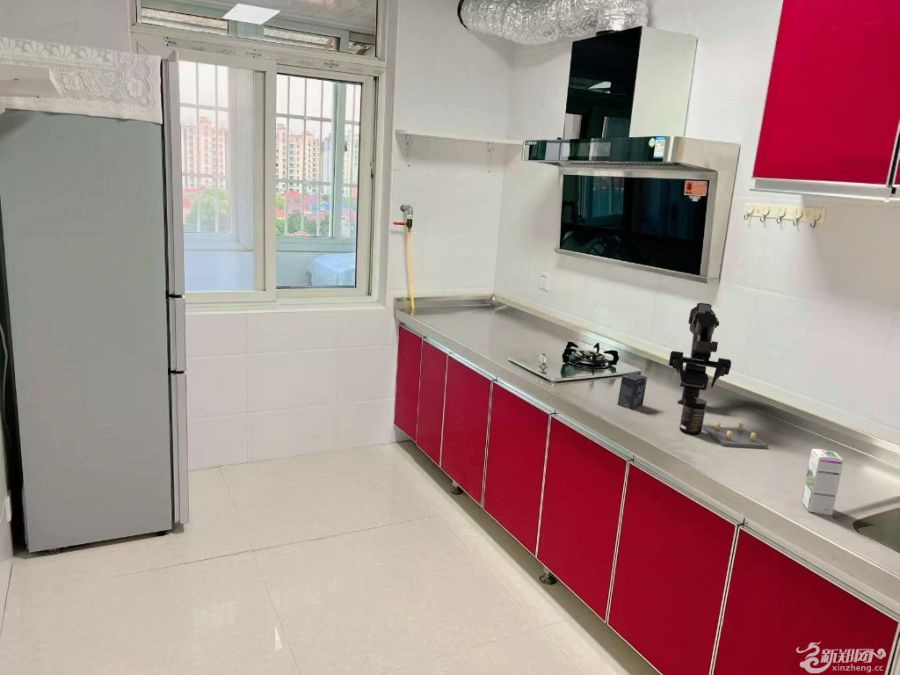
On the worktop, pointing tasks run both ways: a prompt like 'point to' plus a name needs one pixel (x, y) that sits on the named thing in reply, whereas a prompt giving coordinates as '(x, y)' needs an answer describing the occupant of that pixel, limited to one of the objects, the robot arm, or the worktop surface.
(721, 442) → the plate
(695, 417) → the supplement container
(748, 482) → the worktop surface
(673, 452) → the worktop surface
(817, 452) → the syrup box
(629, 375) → the box
